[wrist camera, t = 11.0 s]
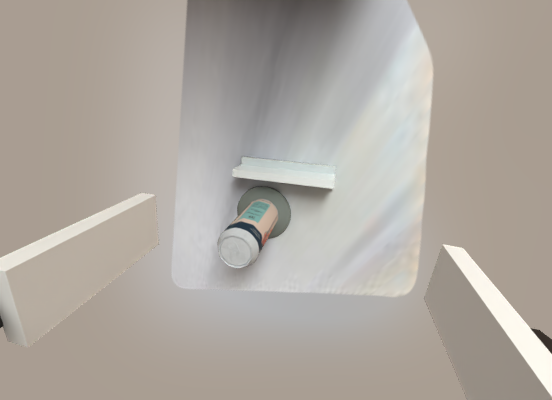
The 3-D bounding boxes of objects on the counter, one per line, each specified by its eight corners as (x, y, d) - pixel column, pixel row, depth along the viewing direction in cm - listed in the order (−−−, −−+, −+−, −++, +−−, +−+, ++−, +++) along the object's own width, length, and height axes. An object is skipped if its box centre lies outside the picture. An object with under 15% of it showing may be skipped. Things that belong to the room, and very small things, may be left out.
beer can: (255, 231, 42) (225, 276, 31) (242, 203, 41) (206, 239, 30) (284, 222, 40) (263, 265, 29) (271, 193, 39) (244, 226, 28)
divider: (242, 156, 39) (232, 161, 35) (336, 166, 37) (336, 172, 33) (242, 177, 40) (232, 184, 36) (333, 188, 38) (332, 196, 34)
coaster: (238, 183, 41) (238, 184, 40) (292, 190, 39) (292, 190, 39) (237, 232, 43) (236, 233, 43) (288, 240, 42) (288, 242, 41)
